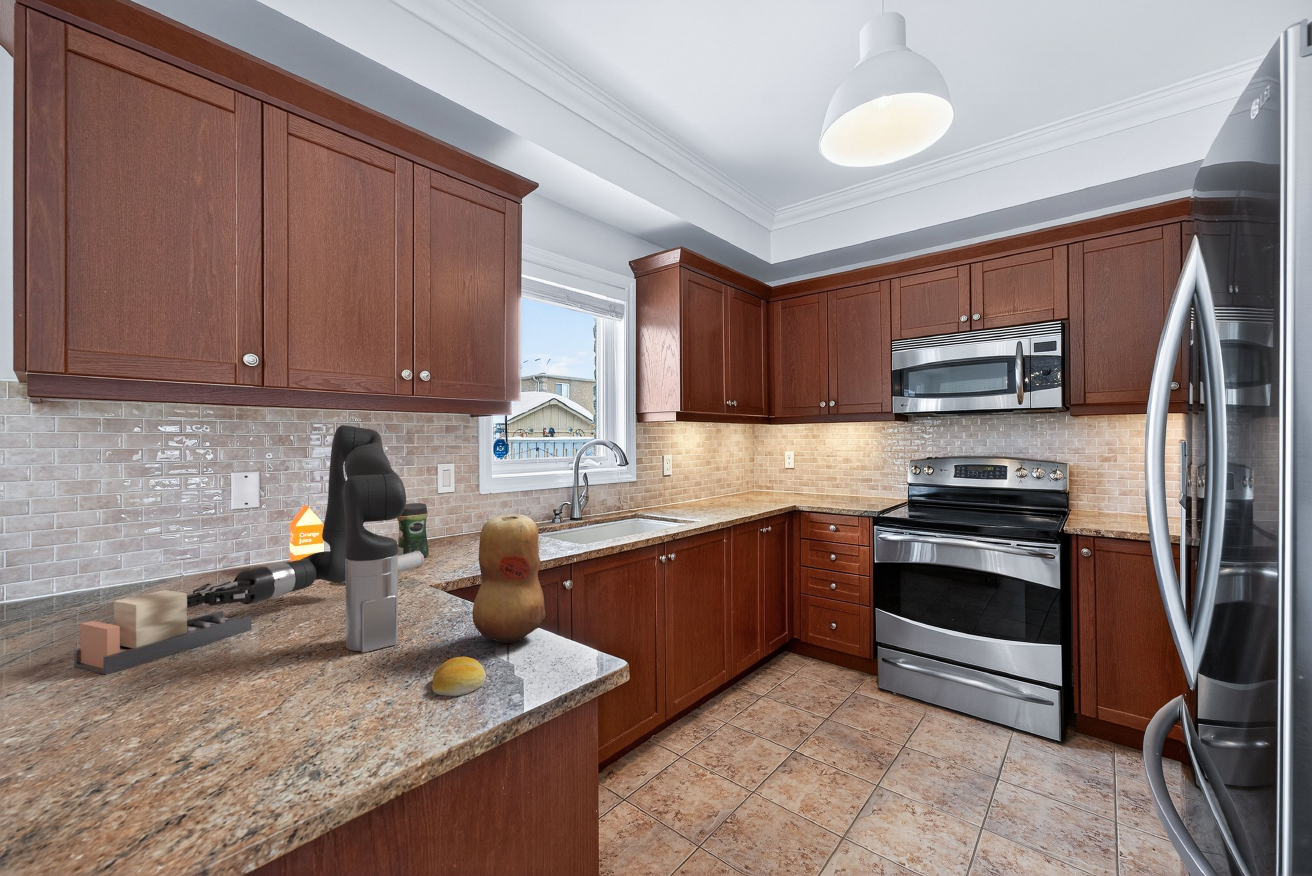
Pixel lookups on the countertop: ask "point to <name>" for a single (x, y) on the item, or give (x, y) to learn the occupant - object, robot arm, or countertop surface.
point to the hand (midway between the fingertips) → (176, 604)
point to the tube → (409, 561)
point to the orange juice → (305, 534)
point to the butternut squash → (509, 579)
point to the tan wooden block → (151, 617)
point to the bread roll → (458, 677)
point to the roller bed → (171, 642)
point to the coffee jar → (413, 529)
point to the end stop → (98, 642)
